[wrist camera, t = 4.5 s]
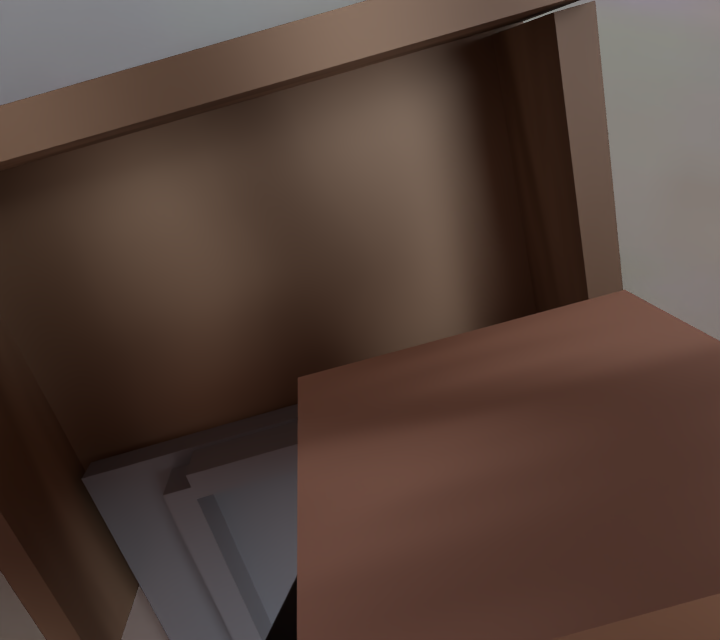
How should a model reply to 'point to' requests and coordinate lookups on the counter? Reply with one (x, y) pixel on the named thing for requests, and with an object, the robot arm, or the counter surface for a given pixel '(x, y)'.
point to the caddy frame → (274, 240)
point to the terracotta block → (516, 483)
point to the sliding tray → (208, 524)
